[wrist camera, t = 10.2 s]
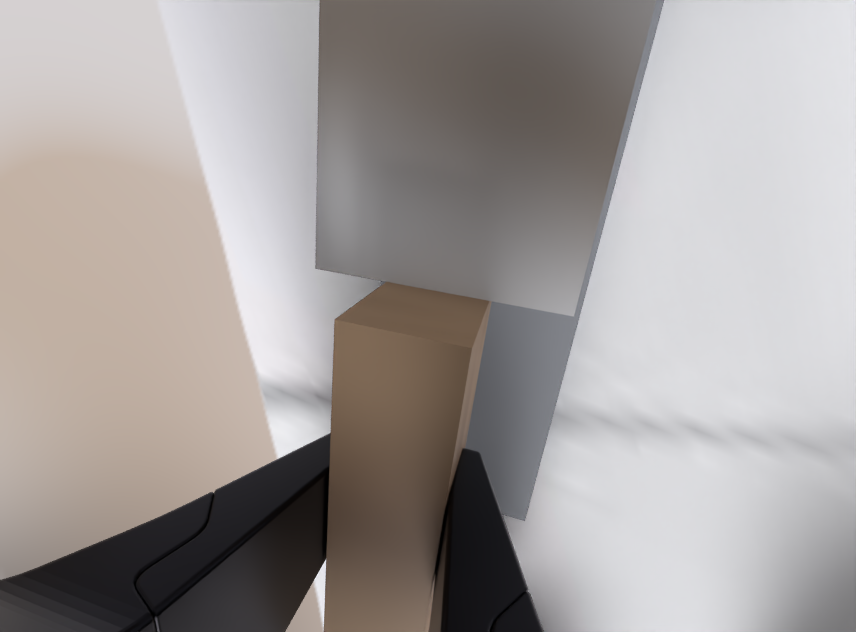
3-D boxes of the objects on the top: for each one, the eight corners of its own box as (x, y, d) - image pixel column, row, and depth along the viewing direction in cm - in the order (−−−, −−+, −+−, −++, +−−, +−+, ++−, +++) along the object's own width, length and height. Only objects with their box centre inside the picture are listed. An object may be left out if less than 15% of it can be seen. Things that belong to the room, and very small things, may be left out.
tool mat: (525, 511, 20) (524, 520, 19) (371, 468, 21) (366, 476, 21) (676, -59, 12) (682, -69, 11) (412, -63, 13) (407, -73, 13)
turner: (498, 587, 11) (485, 728, 8) (325, 531, 12) (260, 641, 9) (671, -95, 6) (792, -336, 3) (345, -94, 7) (212, -279, 4)
